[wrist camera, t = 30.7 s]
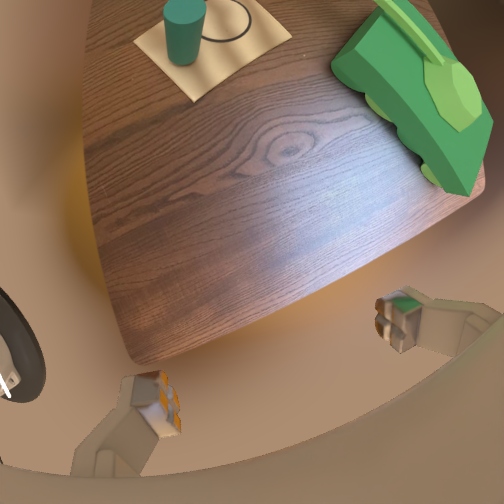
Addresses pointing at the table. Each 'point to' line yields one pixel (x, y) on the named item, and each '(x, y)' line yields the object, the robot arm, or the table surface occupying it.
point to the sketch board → (218, 45)
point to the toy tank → (419, 92)
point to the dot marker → (183, 29)
